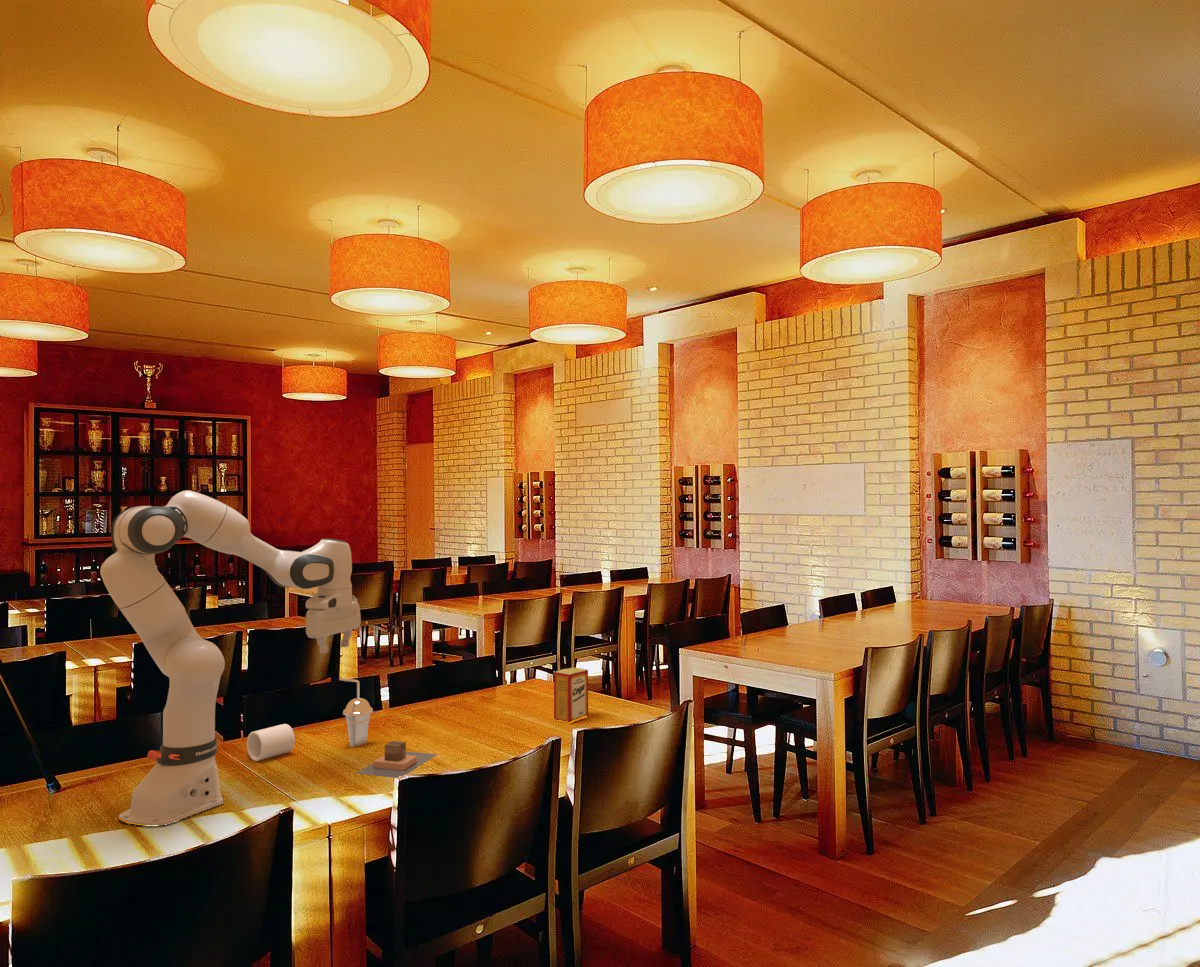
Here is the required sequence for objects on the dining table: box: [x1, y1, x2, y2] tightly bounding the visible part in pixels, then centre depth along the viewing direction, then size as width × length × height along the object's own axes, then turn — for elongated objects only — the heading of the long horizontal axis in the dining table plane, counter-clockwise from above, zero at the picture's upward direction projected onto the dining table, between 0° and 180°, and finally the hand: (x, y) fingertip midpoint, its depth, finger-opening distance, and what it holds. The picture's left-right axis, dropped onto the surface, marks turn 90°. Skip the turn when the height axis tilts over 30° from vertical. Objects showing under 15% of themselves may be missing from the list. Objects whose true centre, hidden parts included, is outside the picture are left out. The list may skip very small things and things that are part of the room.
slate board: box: [355, 750, 438, 779], centre depth 218 cm, size 20×13×1 cm, turn 164°
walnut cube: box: [384, 740, 407, 762], centre depth 217 cm, size 4×4×4 cm
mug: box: [246, 723, 296, 762], centre depth 229 cm, size 12×10×8 cm
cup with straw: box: [339, 677, 374, 748], centre depth 237 cm, size 8×9×20 cm
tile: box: [372, 754, 417, 771], centre depth 217 cm, size 2×9×7 cm
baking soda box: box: [553, 666, 589, 722], centre depth 265 cm, size 10×6×16 cm
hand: (334, 649), depth 220 cm, fingers open, 8 cm apart
